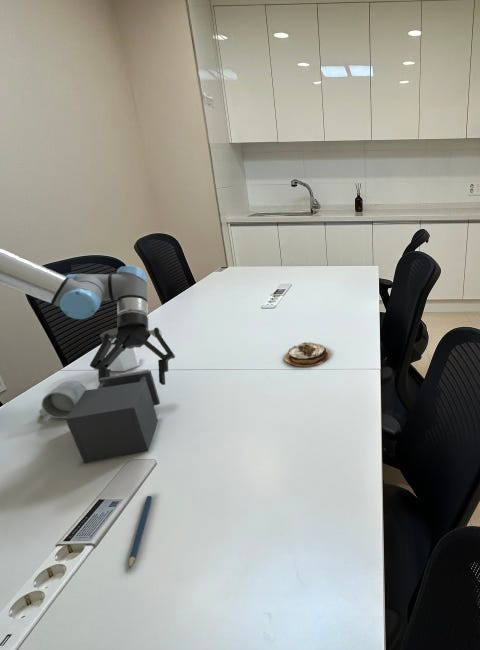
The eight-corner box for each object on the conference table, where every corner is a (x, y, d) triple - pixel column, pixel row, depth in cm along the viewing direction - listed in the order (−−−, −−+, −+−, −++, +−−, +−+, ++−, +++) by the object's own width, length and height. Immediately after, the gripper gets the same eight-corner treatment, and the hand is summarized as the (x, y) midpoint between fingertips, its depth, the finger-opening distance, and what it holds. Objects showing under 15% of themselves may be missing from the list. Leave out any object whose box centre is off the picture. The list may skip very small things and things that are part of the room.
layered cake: (339, 354, 130) (338, 343, 128) (304, 371, 120) (303, 359, 118) (310, 342, 139) (309, 332, 137) (275, 357, 129) (274, 346, 127)
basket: (118, 397, 107) (107, 366, 103) (164, 390, 110) (155, 359, 106) (98, 435, 92) (85, 400, 88) (152, 425, 95) (141, 390, 91)
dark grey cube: (101, 431, 95) (85, 390, 90) (158, 420, 98) (145, 380, 94) (83, 463, 85) (65, 419, 80) (148, 450, 88) (133, 407, 83)
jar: (146, 360, 130) (136, 327, 125) (130, 372, 122) (119, 337, 118) (121, 359, 131) (111, 326, 126) (104, 371, 123) (92, 337, 118)
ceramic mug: (93, 399, 108) (83, 375, 105) (80, 416, 101) (69, 391, 98) (51, 405, 106) (40, 381, 103) (34, 423, 99) (21, 397, 96)
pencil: (152, 498, 75) (133, 568, 62) (147, 500, 75) (127, 570, 62) (151, 495, 75) (132, 565, 62) (145, 496, 75) (125, 567, 62)
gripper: (183, 316, 118) (187, 383, 110) (89, 327, 111) (88, 399, 104) (176, 305, 111) (181, 376, 104) (76, 317, 104) (73, 392, 97)
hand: (134, 388), depth 104 cm, fingers open, 13 cm apart
